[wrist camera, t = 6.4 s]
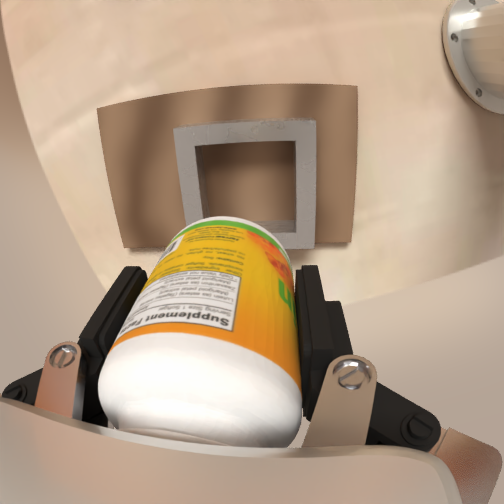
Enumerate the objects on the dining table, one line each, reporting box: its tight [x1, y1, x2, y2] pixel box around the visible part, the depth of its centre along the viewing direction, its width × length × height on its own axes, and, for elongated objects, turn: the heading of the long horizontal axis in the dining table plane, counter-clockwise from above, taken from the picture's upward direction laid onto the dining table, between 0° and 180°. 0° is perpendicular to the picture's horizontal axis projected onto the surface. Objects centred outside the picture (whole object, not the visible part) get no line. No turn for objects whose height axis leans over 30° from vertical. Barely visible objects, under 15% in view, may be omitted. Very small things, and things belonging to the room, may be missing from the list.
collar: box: [173, 118, 316, 249], centre depth 24 cm, size 10×10×2 cm
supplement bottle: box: [98, 216, 302, 448], centre depth 9 cm, size 5×5×10 cm
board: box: [97, 84, 358, 248], centre depth 26 cm, size 22×14×1 cm, turn 93°
